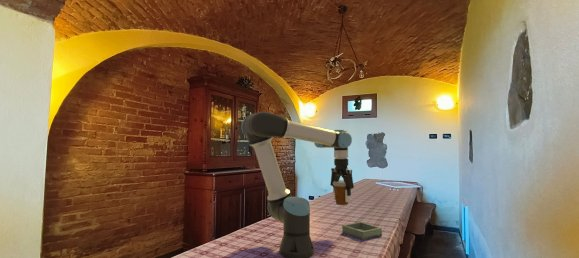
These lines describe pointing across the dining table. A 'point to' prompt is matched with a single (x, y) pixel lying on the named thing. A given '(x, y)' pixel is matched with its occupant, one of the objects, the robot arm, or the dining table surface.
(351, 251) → the dining table surface
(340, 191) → the disposable coffee cup
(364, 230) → the bin
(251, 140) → the robot arm
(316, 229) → the dining table surface
